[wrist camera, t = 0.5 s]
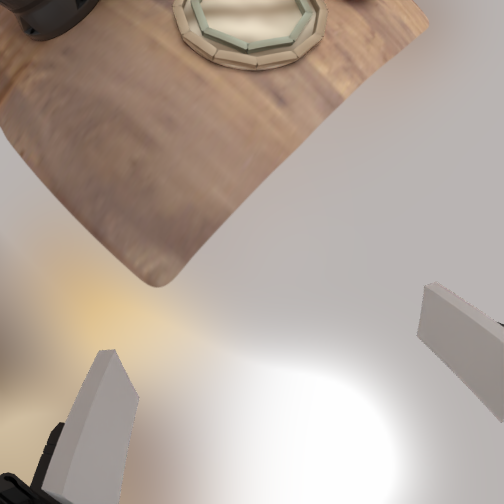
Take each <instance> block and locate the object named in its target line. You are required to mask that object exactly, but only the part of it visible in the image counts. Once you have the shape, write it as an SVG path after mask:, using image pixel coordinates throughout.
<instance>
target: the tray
mask: <svg viewBox="0 0 504 504" xmlns="http://www.w3.org/2000/svg"><path fill="white" fill-rule="evenodd" d="M172 9H173V13H174V16H175V19H176V22H177V24H178V28H179V31H180V33H181V36H182V39H183V40H184V41H185V42H186V43H187V44H188V45H189V46H190V47H191V48H192V49H193V50H194V51H195V52H197V53H198V54H199V55H201V56H202V57H204V58H206V59H208V60H210V61H212V62H214V63H217V64H219V65H222V66H226V67H230V68H234V69H241V70H267V69H274V68H278V67H282V66H285V65H287V64H290V63H293V62H295V61H297V60H298V59H299V58H301V57H302V56H304V55H305V54H306V53H307V52H308V51H309V50H310V49H311V48H312V47H314V46H315V45H316V44H317V43H319V42H320V41H321V39H322V38H323V37H324V33H325V28H326V22H327V17H328V8H327V6H326V4H325V2H324V0H175V1H174V3H173V5H172Z"/></svg>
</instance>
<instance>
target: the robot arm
mask: <svg viewBox="0 0 504 504" xmlns="http://www.w3.org/2000/svg"><path fill="white" fill-rule="evenodd" d="M97 2H98V0H0V5H2V6H3V7H5V8H7V9H8V10H10V11H12V12H13V13H14V14H15V16H16V18H17V20H18V22H19V24H20V26H21V29H22V30H23V32H24V33H25V34H26V35H27V36H29V37H31V38H32V39H34V40H40V41H41V40H48V39H51V38H54V37H56V36H58V35H60V34H62V33H64V32H66V31H67V30H69V29H70V28H72V27H73V26H75V25H76V24H77V23H78V22H80V21H81V20H82V19H83V18H84V17H85V16H86V15H87V14H88V13H89V12H90V11H91V10H92V9H93V7H94V6H95V5H96V3H97ZM417 337H418V338H419V339H420V340H421V341H422V342H423V343H424V344H425V345H426V346H427V347H428V348H429V349H431V350H432V352H434V353H435V354H436V355H437V356H438V357H439V358H440V359H441V360H442V361H443V362H444V363H445V364H446V365H447V366H448V367H449V368H450V369H451V370H452V371H453V372H454V373H455V374H456V375H457V376H458V377H459V378H460V379H461V380H462V382H463V383H464V384H466V386H467V387H468V388H469V389H470V390H471V391H472V392H473V393H474V394H475V395H476V396H477V397H478V398H479V399H480V400H481V401H482V403H484V404H485V405H486V407H487V408H488V409H489V410H490V411H491V412H492V413H493V414H494V416H495V417H496V418H497V419H498V420H499V421H500V422H501V423H502V422H503V421H504V324H501V323H499V322H496V321H494V320H493V319H491V318H490V317H489V316H487V315H486V314H484V313H483V312H482V311H480V310H479V309H477V308H475V307H474V306H473V305H471V304H470V303H468V302H467V301H465V300H464V299H462V298H461V297H459V296H458V295H456V294H455V293H453V292H452V291H450V290H448V289H447V288H445V287H444V286H442V285H441V284H439V283H437V282H434V283H431V284H428V285H425V286H424V294H423V301H422V309H421V315H420V321H419V326H418V332H417ZM138 401H139V396H138V394H137V392H136V390H135V389H134V387H133V385H132V383H131V381H130V379H129V377H128V375H127V373H126V371H125V369H124V367H123V366H122V363H121V361H120V359H119V357H118V355H117V353H116V351H115V349H114V350H102V351H99V352H98V354H97V356H96V358H95V360H94V362H93V364H92V366H91V368H90V370H89V372H88V374H87V376H86V378H85V380H84V382H83V384H82V387H81V389H80V391H79V393H78V395H77V397H76V400H75V402H74V404H73V406H72V409H71V411H70V413H69V415H68V418H67V420H66V423H61V422H60V423H59V424H58V425H57V426H56V427H55V428H54V429H53V431H51V434H50V436H49V438H48V441H47V445H45V448H44V451H43V454H42V456H41V458H40V461H39V463H38V466H37V469H36V472H35V474H34V477H33V480H32V483H31V485H30V487H29V486H27V485H26V484H25V483H24V482H23V481H22V480H20V479H19V478H18V477H17V476H16V475H15V474H12V473H3V474H1V475H0V504H119V499H120V492H121V486H122V480H123V473H124V468H125V463H126V457H127V452H128V446H129V442H130V437H131V432H132V428H133V423H134V419H135V414H136V410H137V406H138Z"/></svg>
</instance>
